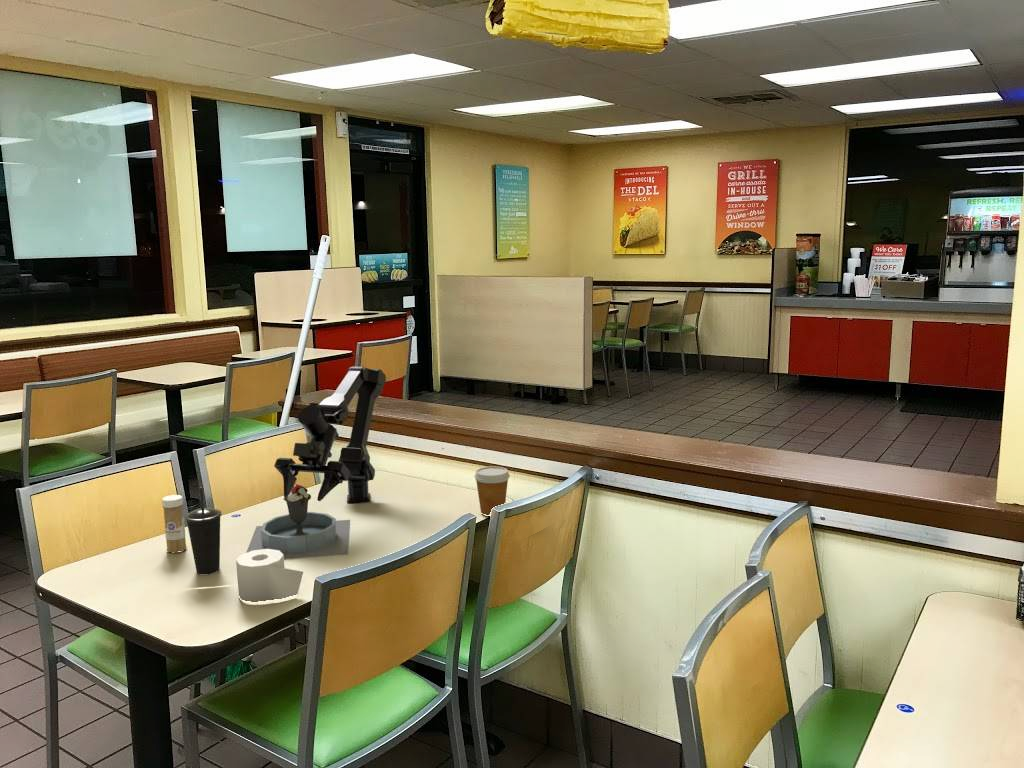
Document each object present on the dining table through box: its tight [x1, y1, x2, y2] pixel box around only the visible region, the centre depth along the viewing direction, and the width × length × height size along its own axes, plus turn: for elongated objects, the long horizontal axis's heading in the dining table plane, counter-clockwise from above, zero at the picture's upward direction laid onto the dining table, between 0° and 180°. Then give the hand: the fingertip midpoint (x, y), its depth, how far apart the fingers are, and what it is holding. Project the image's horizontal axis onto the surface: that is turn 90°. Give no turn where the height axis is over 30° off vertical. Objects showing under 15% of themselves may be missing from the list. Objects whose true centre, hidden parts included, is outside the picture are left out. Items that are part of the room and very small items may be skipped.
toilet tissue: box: [235, 549, 304, 602], centre depth 168 cm, size 9×13×9 cm
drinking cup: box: [184, 486, 222, 575], centre depth 179 cm, size 8×8×20 cm
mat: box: [245, 519, 351, 560], centre depth 198 cm, size 24×24×1 cm
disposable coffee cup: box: [473, 465, 511, 515], centre depth 215 cm, size 10×10×12 cm
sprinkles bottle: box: [161, 494, 188, 553], centre depth 192 cm, size 5×5×14 cm
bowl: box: [261, 511, 337, 554], centre depth 198 cm, size 18×18×4 cm
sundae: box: [282, 481, 312, 536], centre depth 197 cm, size 7×7×15 cm
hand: (301, 499), depth 199 cm, fingers open, 9 cm apart
